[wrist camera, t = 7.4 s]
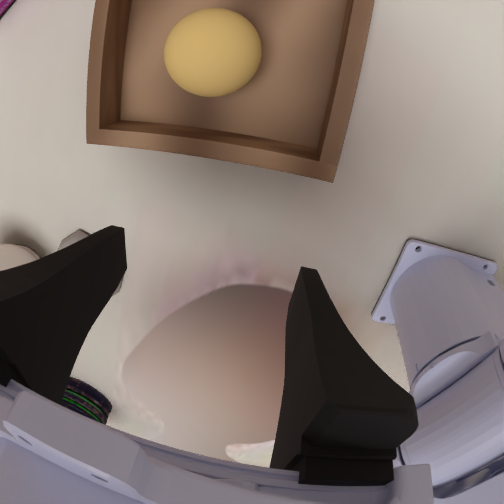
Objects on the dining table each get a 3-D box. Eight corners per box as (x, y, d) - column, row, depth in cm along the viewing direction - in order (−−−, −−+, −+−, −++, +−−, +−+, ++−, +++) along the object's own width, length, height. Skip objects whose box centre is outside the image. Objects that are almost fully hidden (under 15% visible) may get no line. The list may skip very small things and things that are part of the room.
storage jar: (63, 368, 40) (21, 446, 27) (118, 401, 42) (85, 483, 29) (58, 388, 45) (24, 455, 32) (106, 416, 47) (77, 485, 34)
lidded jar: (84, 287, 29) (35, 356, 21) (45, 316, 33) (7, 371, 25) (17, 207, 25) (-48, 261, 17) (-9, 252, 29) (-57, 301, 21)
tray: (366, -12, 13) (378, -24, 10) (328, 166, 19) (332, 182, 17) (126, -30, 13) (103, -39, 11) (110, 131, 20) (86, 143, 17)
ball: (269, 19, 15) (264, 2, 10) (259, 97, 17) (250, 107, 13) (185, 14, 15) (154, 1, 11) (177, 90, 17) (145, 99, 13)
